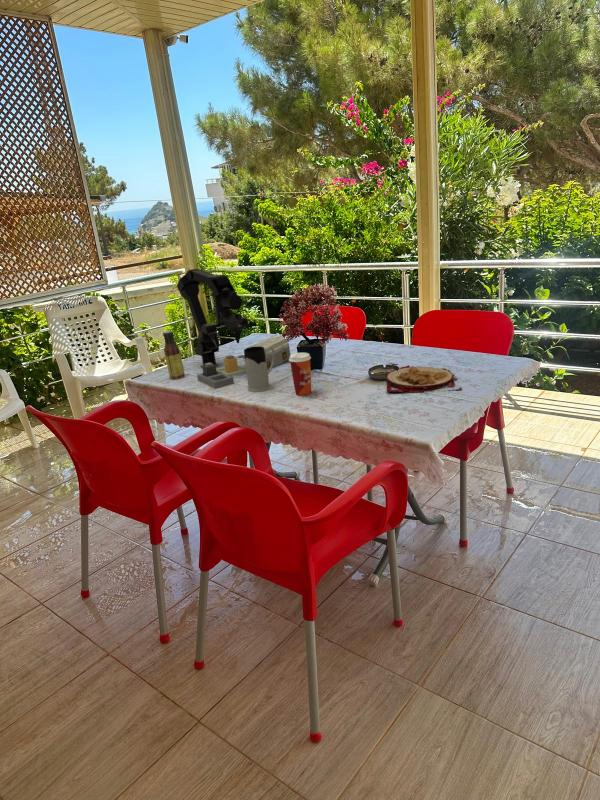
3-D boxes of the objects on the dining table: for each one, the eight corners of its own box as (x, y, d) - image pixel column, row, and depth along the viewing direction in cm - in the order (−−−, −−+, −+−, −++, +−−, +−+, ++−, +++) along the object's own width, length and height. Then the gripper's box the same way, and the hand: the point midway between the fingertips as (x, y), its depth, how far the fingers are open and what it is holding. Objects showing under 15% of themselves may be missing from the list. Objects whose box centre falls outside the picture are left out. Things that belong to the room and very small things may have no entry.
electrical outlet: (301, 356, 242) (297, 334, 238) (257, 379, 222) (252, 355, 218) (281, 353, 249) (277, 332, 245) (236, 376, 230) (232, 353, 226)
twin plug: (204, 380, 222) (201, 363, 220) (213, 377, 224) (210, 361, 222) (208, 382, 219) (206, 365, 216) (217, 379, 221) (215, 363, 218)
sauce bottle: (188, 376, 231) (179, 329, 225) (179, 381, 226) (170, 333, 220) (175, 375, 234) (167, 329, 228) (166, 380, 229) (157, 333, 222)
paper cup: (307, 397, 191) (303, 358, 186) (288, 395, 195) (284, 357, 190) (318, 390, 197) (314, 352, 192) (300, 388, 201) (296, 351, 197)
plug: (225, 372, 230) (223, 356, 228) (233, 369, 232) (231, 354, 230) (229, 373, 227) (227, 357, 224) (238, 371, 229) (236, 355, 226)
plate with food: (386, 396, 187) (386, 386, 185) (385, 371, 211) (385, 362, 210) (462, 394, 183) (462, 383, 182) (452, 368, 207) (452, 359, 206)
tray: (214, 373, 231) (213, 369, 230) (237, 367, 237) (236, 363, 236) (226, 378, 222) (225, 374, 222) (250, 372, 228) (249, 368, 227)
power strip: (198, 381, 223) (196, 374, 222) (215, 376, 227) (214, 369, 226) (215, 389, 210) (214, 382, 209) (234, 384, 214) (233, 377, 213)
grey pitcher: (242, 389, 207) (237, 351, 202) (268, 378, 216) (264, 341, 211) (259, 393, 201) (253, 353, 196) (285, 381, 211) (280, 343, 206)
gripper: (210, 314, 209) (216, 354, 214) (252, 305, 218) (257, 343, 224) (197, 311, 218) (203, 349, 223) (239, 302, 227) (244, 339, 233)
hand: (227, 345), depth 225 cm, fingers open, 9 cm apart
